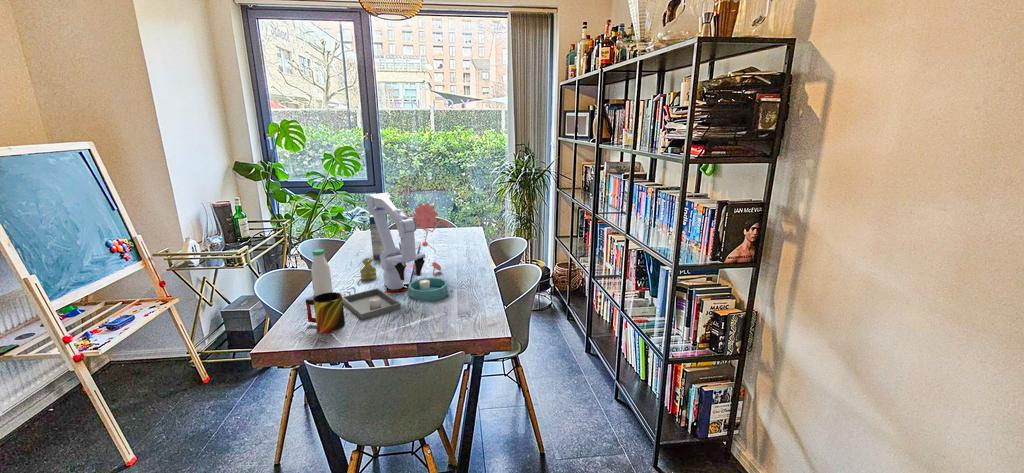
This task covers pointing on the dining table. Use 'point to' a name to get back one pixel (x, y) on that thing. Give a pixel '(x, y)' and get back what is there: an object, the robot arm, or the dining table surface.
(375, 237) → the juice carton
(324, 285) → the milk bottle
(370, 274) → the olive yellow vase
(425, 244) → the figurine
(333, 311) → the mug
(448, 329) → the dining table surface
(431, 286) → the bowl
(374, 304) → the stone
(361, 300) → the tray
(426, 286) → the stone
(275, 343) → the dining table surface
